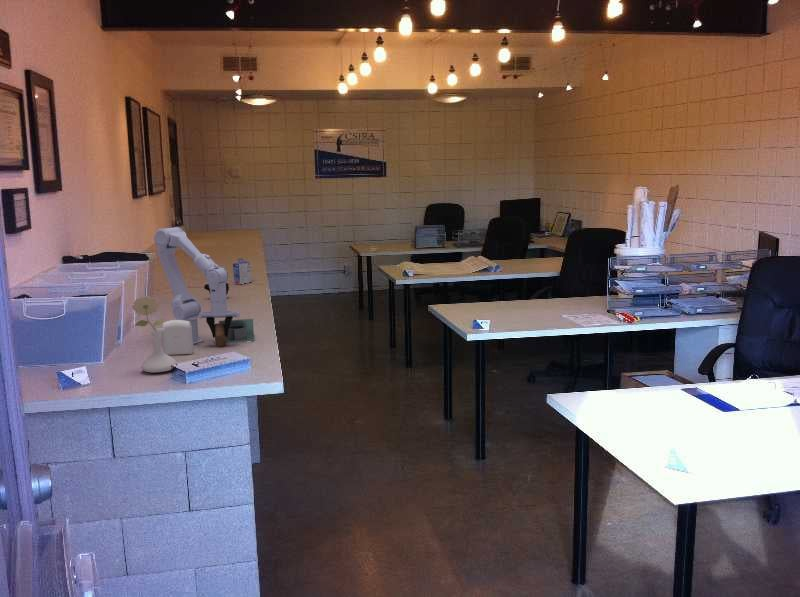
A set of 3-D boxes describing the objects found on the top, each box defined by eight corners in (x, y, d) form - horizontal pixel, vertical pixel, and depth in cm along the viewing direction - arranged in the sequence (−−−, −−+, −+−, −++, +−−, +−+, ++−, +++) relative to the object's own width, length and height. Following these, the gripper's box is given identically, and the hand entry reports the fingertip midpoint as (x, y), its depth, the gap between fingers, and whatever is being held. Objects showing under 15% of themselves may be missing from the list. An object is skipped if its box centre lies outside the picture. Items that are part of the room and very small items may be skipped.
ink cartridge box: (245, 282, 426) (244, 257, 423) (252, 282, 423) (251, 257, 421) (233, 284, 418) (232, 259, 415) (240, 285, 415) (239, 259, 412)
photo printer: (162, 355, 259) (160, 321, 257) (165, 352, 263) (162, 319, 261) (192, 354, 260) (190, 320, 257) (194, 351, 264) (192, 318, 262)
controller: (229, 299, 369) (228, 280, 367) (204, 300, 367) (203, 281, 365) (229, 298, 373) (228, 278, 371) (205, 299, 371) (203, 279, 369)
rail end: (220, 347, 270) (219, 325, 268) (213, 345, 272) (212, 324, 270) (228, 344, 273) (227, 323, 272) (221, 343, 275) (219, 322, 274)
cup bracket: (254, 341, 279) (254, 324, 277) (219, 343, 276) (218, 326, 275) (253, 335, 289) (252, 318, 287) (219, 337, 286) (218, 320, 284)
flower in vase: (181, 365, 246) (176, 292, 241) (172, 375, 234) (167, 298, 230) (142, 366, 245) (136, 293, 241) (131, 375, 234) (125, 299, 229)
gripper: (239, 298, 274) (241, 333, 276) (200, 299, 272) (202, 334, 275) (237, 301, 267) (239, 337, 270) (197, 302, 265) (199, 339, 268)
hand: (220, 336), depth 272 cm, fingers closed on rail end, 4 cm apart
